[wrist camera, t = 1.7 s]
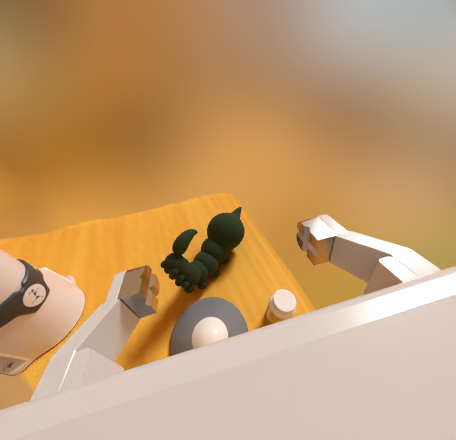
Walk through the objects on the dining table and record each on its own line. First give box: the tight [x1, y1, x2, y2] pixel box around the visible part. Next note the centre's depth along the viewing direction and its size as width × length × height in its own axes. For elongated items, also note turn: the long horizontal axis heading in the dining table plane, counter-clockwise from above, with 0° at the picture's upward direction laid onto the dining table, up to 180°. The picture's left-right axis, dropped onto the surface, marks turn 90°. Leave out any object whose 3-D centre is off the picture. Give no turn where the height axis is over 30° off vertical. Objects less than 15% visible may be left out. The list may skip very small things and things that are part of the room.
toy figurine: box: [161, 207, 244, 293], centre depth 42 cm, size 9×19×25 cm
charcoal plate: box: [171, 297, 248, 356], centre depth 35 cm, size 15×15×1 cm
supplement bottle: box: [266, 289, 296, 324], centre depth 35 cm, size 5×5×8 cm
